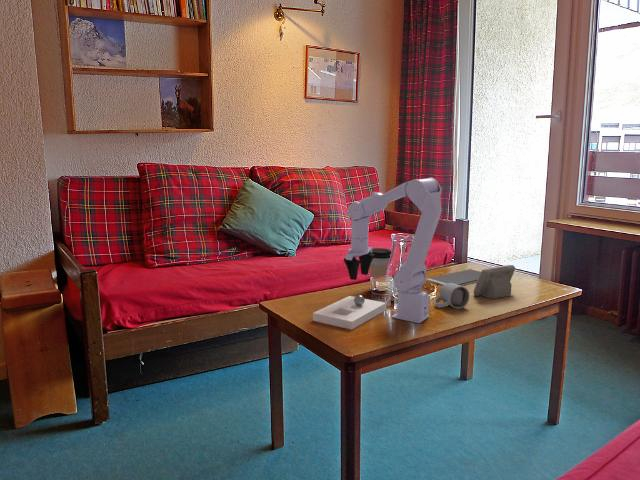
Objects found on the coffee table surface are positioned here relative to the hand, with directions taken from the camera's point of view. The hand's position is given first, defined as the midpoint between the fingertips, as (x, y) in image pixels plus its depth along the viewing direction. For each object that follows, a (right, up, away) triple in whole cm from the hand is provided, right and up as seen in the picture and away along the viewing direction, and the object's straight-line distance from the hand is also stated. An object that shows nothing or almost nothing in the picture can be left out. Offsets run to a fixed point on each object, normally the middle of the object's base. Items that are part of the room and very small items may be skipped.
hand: (358, 276), depth 183 cm
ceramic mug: (+31, -10, 0) cm, 32 cm away
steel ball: (-1, -7, -9) cm, 11 cm away
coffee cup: (+9, -6, +18) cm, 21 cm away
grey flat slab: (+43, -4, +34) cm, 55 cm away
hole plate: (-3, -12, -10) cm, 16 cm away
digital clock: (+50, -8, +13) cm, 52 cm away
